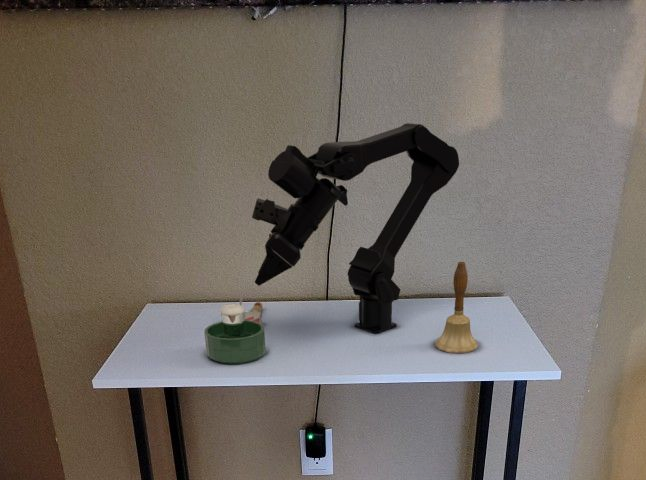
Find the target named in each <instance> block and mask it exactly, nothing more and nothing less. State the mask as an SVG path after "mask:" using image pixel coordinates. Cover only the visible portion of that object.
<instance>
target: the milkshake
mask: <svg viewBox="0 0 646 480" xmlns="http://www.w3.org/2000/svg"><path fill="white" fill-rule="evenodd" d="M243 298H244V297H243V295H240V299H239V304H235V303H230V304H229V303H228V304H225V305H223V306H221V308H220V310H219V313H220V317H221V322H222V323H223V328H224V334H225V338H227V339H233V338H243V337H244V323H245V312H246V310H245V307H244V306H243Z"/></svg>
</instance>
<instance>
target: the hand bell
mask: <svg viewBox="0 0 646 480" xmlns="http://www.w3.org/2000/svg"><path fill="white" fill-rule="evenodd" d="M468 275H469V274H468V271H467V266H466V262H465V261H459V262H457V265H456V268H455V271H454V274H453V290H454V296H455V297H454V298H455V300H454V309H453V310H454V311H453V312H454V313H453V314H452V315H449V316H448V317H447V318H446V321H445V326H444V329H443V332H442V333H441V335H440V336H439V337H438V338H437V339H436V340H435V342H434V346H435V348H436V349H438V350H440V351H441V352H445V353H450V354H465V353H470V352H473V351H475V350H477V349H478V348H479V345H478V341H477V340H476V339H475V338H474V336H473V334H472V330H471V319H470V317H468V316H466V315H465V314H464V302H465V301H464V298H465V293H466V291H467V287H468V282H469V280H468V278H469V276H468Z"/></svg>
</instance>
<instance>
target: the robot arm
mask: <svg viewBox="0 0 646 480" xmlns="http://www.w3.org/2000/svg"><path fill="white" fill-rule="evenodd" d="M405 152H406V155H407V157H408V158H409V159H411V161H412V165H411V167H410V182H409V183H408V186H407V187H406V189H405V190H404V192H403V194H402V195H401V197H400V199H399V201H398V203H397V204H396V206H395V207H394V209H393V211H392V213H391V214H390V216H389V218H388V219H387V221H386V223H385V225H384V226H383V227H382V229H381V231H380V233H379V234H378V236H377V238H376V240H375V241H374V243H373V244H372V245H371V246H369V247H364V246H360V247H358V249H357V251H356V252H355V255H354V257H353V259H352V260H351V261H349V262H348V265H349V268H348V271H347V276H348V277H347V278H348V279H347V280H348V284H349V285H350V286H351V288H352V291H353V295H355V296H358V297H359V302H358V322H355V323H354V327H355V328H356V329H357V328H358V329H362V330H363V331H367V332H370V333H373V334H379V333H381V332H384V331H387V330H390V329H393V328H396V327H397V325H398V323H395V322H394V321H392V320H393V303H394V301H398V300H399V297H400V293H401V288H400V287H399V286H398V285H397V284H396V283H395V282H394V280H392V279H393V276H394V274H395V267H396V266H395V265H396V257H397V254H399V252H400V250H401V248H402V246H403V245H404V243H405V241H406V240H407V238H408V237H409V235H410V233H411V232H412V229H413V227H414V226H415V224H416V222H417V221H418V219H419V218H420V216H421V214H422V213H423V211H424V209H425V208H426V206H427V204H428V203H429V201H430V199H431V197H432V196H433V195H434V194H435V193H437V192H438V191H439V190H441V189H443V188H444V187H445V186H447V184H448V183H449V182H450V181H451V180H452V178H453V177H454V176H455V174H456V173H457V171H458V169H459V167H460V159H459V158H460V157H459V153H458V150H457V149H456V148H455V147H454V146H452V145H449V144H448V143H447V142H445V141H444V140H443V139H441V138H439V137H438V136H436V135H435V134H434V133H432V132H431V131H430V130H429V129H428V128H427V127H426V126H425V125H423V124H420V123H413V122H412V123H411V122H408V123H407V122H406V123H404V124H402V125H401V126H398V127H395V128H393V129H389V130H386V131H383V132H380V133H378V134H374V135H371V136H369V137H365V138H362V139H359V140H355V141H354V140H353V141H333V142H332V141H331V142H324V143H322V144H321V145H320V146H319V147H318V150H317V152H315V153H313V154H311V155H309V156H306V155H305V154H303V152H302V151H301V150H300V149H299V148H298V147H297V146H296V145H292V144H288V145H287V146H286V147H285V150H284V151H281V152H280V153H279V154H278V155H277V156H276V157H275V158H274V159H272V161H271V163H270V165H269V167H268V172H267V175H268V179H269V180H270V181H271V182H272V183H274V184H275V185H276V186H277V187H278V188H280V189H281V190H283V191H284V192H285V193H286V194H288V195H289V196H290V197H292V198H293V199H297V200H295V202H294V203H291V204H290V205H289V207H288V208H286V207H284V206H281V205H280V204H279V205H278V204H276V202H275V200H270V199H269V198H266V199H262V198H257V199H256V201H255V205H254V208H253V211H252V215H251V218H252V219H253V220H256V221H262V222H265V223H267V224H271V225H273V227H272V228H271V230H270V233H269V234H268V239H267V241H266V242H265V245H264V249H265V254H266V255H265V257H264V259H263V261H262V264H261V266H260V267H259V270H258V272H257V276H256V278H255V279H254V284H256V285H257V286H258V287H260V286H262V285H263V284H265V283H267V282H269V281H271V280H272V279H273V278H276V277H277V276H279V275H280V274H282V273H284V272H286V271H287V270H290V269H292V268H293V267H296V265H297V263H298V262H299V261H300V260H301V256H302V254H301V251H302V250H303V248H304V247H305V244H306V243H307V242H308V240H309V239H310V238H311V237H312V235H313V234H314V232H317V230H318V229H319V226H320V224H321V223H322V221H323V220H324V219H325V218H326V216H327V215H328V214H329V213H330V211H331V210H332V208H333V207H334V206H335V204H336V203H337V202H340V203H341V204H342V205H343V206H346V207H347V206H348V205H349V199H348V189H347V188H346V187H345V186H344V185H343V184H340V185H336V184H335V183H333V182H332V180H330V179H333V180H337V181H344V182H347V181H350V180H352V179H354V178H356V177H357V176H358V175H360V174H362V173H364V171H365V170H366V169H367V167H369V166H370V165H372V164H373V163H377V162H380V161H383V160H386V159H388V158H391V157H394V156H396V155H400V154H403V153H405ZM318 175H320V176H322V177H323V178H318V177H317V176H318Z"/></svg>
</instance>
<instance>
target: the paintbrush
mask: <svg viewBox="0 0 646 480" xmlns="http://www.w3.org/2000/svg"><path fill="white" fill-rule="evenodd" d="M263 307H264V306H263V303H262V302H261V301H256V302H255V303H254V304H253V307H252V309H251V311H245V320H249V321H255V322H258V323H260V324H262V325H263V324H264V323H263V320H262V317H263V316H262V315H263V314H262V313H263V312H262V310H263ZM263 326H264V325H263Z"/></svg>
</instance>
